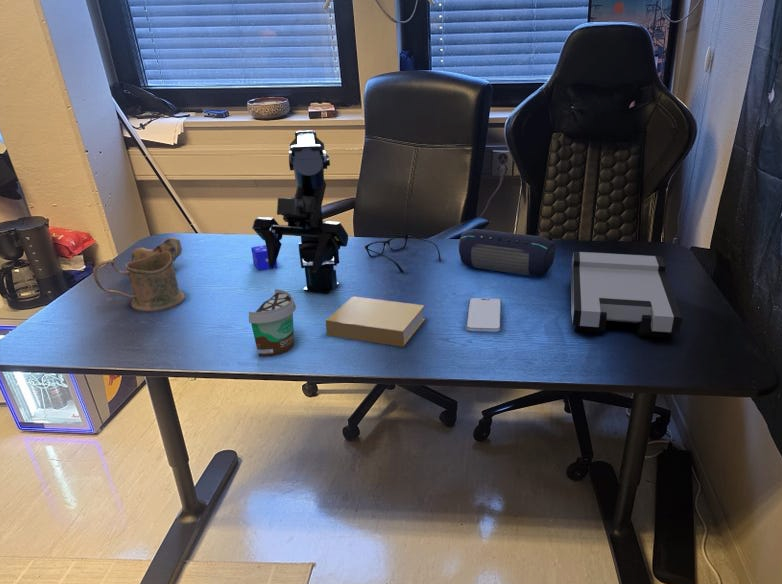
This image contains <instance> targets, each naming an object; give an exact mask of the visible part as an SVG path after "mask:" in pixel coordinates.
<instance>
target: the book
mask: <svg viewBox="0 0 782 584" xmlns="http://www.w3.org/2000/svg"><path fill="white" fill-rule="evenodd" d="M424 308H425V304H417V303H408V302H403V301H402V302H401V301H394V300H387V299H378V298H370V297H363V296H355V295H352V296H351V297H350V298H349V299H347V301H345V302H344V303H343V304H342V305H341V306H340V307H339V308H338V309H336V310H335V311H334V312H333V313H332V314H331V315H329V316H328V317H327V318H326V319H325V330H326V336H328V337H333V338H341V339H347V340H353V341H361V342H367V343H373V344H380V345H386V346H393V347H400V348H401V347H402V348H404V347H405V346H406V344H407V343H408V342H409V340H411V338H412V337H413V335H414V334H415V333H416V332H417V330H419V328H420V327H421V325H423V323H424V322H425V320H426V319H425V318H424Z"/></svg>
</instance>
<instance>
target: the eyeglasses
mask: <svg viewBox="0 0 782 584" xmlns="http://www.w3.org/2000/svg"><path fill="white" fill-rule="evenodd" d="M400 237H404V239H405V242H404V245H403V246H402V247H401V248H398V249H397V248H396V249H394V248H392V246H391V243H390V242H391V241H393V240H394V239H396V238H400ZM409 238H412V239H416V240H420V241H424V242H428V243H431V244H433V245H434V246H435V248H436V249H437V254H438V261H439V262H441V261H442V258H441V252H440V249H439V248H438V246H437V244H435V243H434V242H432V241H430V240H427V239H423V238H419V237H416V236H412V235H409V234H399V235H396V236H393V237H391V238H389V239H388V240H383V241H382V240H381V241H374V242H370V243H368V244H366V245H365V246H364V250H366V252H367V254H368V256H369V257H370V258H376V257H379V256H382V257H384V258H386V259H388V260H390V261H391V262H393V263H394V264H395V265H396V267H397V269H398V270H399V272H400V273H402V274H403V273H405V271H404V269H402V267H401V266H400V265H399V264H398V263H397V262H396V261H395V260H393V259H392V258H390V257H388V256H386V255H383V253H384V251H385V250H386V249H387V246H388V247H389V249H390V250H391V251H392V252H397V251H400V250H402V249H404V248H406V245H407V243H408V239H409ZM378 243H382V244H383V248H382V251H381V253H379V252H376V251H375V250H373V249H370V248H369V247H370V246H372V245H373V244H378ZM386 244H387V246H386ZM370 252H372V253H374V254H376V255H371V253H370Z"/></svg>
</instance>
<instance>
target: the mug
mask: <svg viewBox="0 0 782 584" xmlns="http://www.w3.org/2000/svg"><path fill="white" fill-rule="evenodd" d="M108 264H111V266H112V268H113V269H114V271H115V272H117V273H119V274H121V275H126V274H127V276H128V280H129V282H130V283H129V284H130V286H131V290H132V294H127V293H125V292H122V291H120V290H115V289H106V288H104V287H103V286H102V285H101V283H100V281H99V278H98V274H97V271H98V269H99V268H101V267H102V266H105V265H108ZM125 268H126V270H123V271H122V270H119V269H118V268H117V266H116V263H115V261H114V259H108V260H104V261H100V262H99V263H97V264H96V265H94V266H93V268H92V274H93V278H94V281H95V283H96V284H97V286H98V287H99V289H101V290H103V292H106V293H111V294H119V295H122V296H125V297H127V298H132V300H131V302H130V305H131V307H132V308H133V309H134V310H136V311H141V312H157V311H163V310H168V309H170V308H174V307H177V306H178V305H180V304H181V303H183V302H184V301H185V299H186V296H185V293H184V292H182V291H181V290H180V288H179V284H178V280H177V276H176V272H175V265H174V262H172V257H171V254H170V253H169V252H167V251H166V252H161V253H157V254H153V255H151V256H148V257H146V258H143V259H140V260H137V261H136V260H133V262H131V261H130V262H127V263H126V264H125Z"/></svg>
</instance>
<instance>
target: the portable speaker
mask: <svg viewBox="0 0 782 584" xmlns="http://www.w3.org/2000/svg"><path fill="white" fill-rule="evenodd" d="M555 245H556V244H555V243H554V242H553V241H551V239H548V238H546V237H544V236H541V235H540V236H539V235H531V234H522V233H515V232H514V233H513V232H506V231H505V232H504V231H495V230H489V229H488V230H487V229H481V228H473V229H472V228H471V229H466V230H464V231H462V233H461V234H460V238H459V242H458V253H459V257H460V261H461V263H462V264H464V265H465V266H466V267H468V268H473V269H481V270H487V271H496V272H502V273H507V274H508V273H509V274H516V275H524V276H531V277H541V276H544V275H547V273H548V272H549V270H550V269H551V267H552V266H553V264H554V261H555V256H556V246H555Z"/></svg>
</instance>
